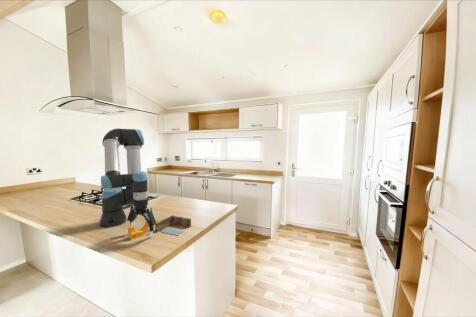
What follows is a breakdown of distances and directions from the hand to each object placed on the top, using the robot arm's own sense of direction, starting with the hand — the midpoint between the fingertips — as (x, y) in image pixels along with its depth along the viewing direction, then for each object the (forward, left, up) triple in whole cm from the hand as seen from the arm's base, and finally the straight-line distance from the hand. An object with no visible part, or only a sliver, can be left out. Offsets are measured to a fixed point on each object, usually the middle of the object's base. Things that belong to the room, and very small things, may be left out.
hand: (141, 234), depth 109 cm
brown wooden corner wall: (+11, +14, -1) cm, 18 cm away
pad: (+13, +10, -1) cm, 16 cm away
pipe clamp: (-1, +1, -1) cm, 2 cm away
